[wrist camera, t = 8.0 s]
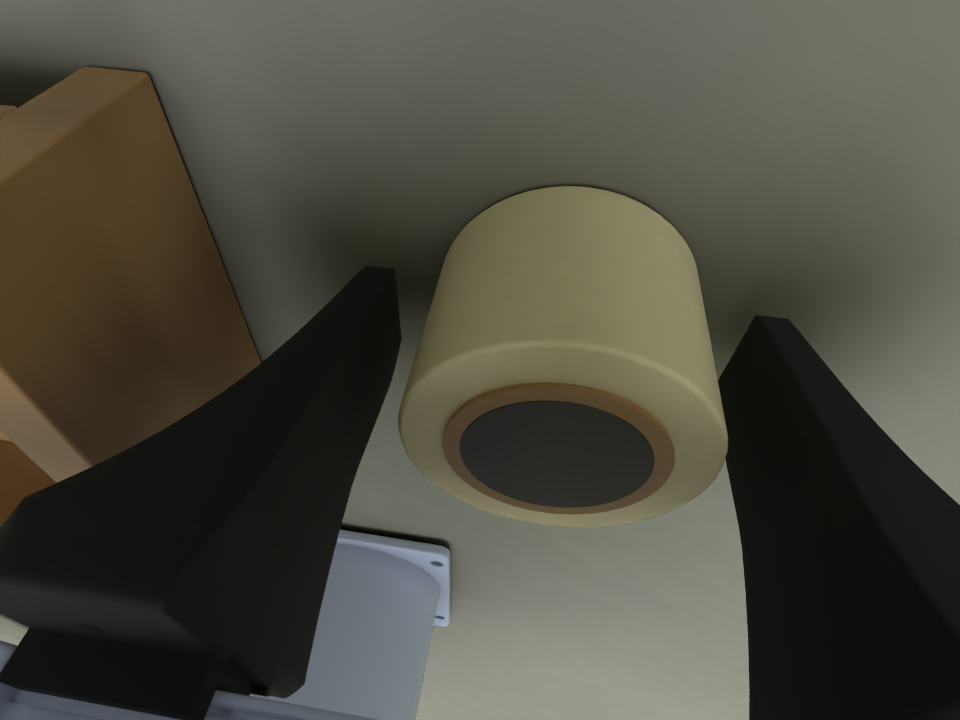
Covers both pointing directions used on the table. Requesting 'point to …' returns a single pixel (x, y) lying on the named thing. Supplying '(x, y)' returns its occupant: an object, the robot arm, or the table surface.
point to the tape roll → (567, 365)
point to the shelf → (102, 282)
